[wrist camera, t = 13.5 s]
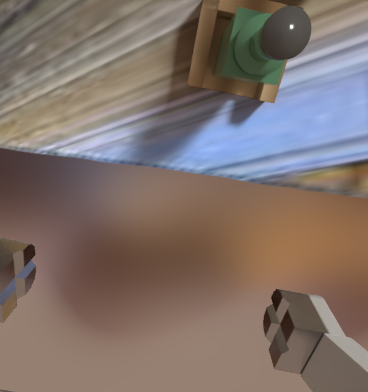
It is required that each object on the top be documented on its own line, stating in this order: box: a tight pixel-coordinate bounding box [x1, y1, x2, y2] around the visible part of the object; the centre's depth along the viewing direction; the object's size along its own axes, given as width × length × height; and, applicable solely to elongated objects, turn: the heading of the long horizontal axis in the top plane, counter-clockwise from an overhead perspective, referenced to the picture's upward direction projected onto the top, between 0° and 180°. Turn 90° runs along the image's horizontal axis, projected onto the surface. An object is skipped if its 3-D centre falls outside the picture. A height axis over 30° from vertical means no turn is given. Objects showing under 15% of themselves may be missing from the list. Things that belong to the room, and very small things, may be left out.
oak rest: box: [187, 0, 303, 103], centre depth 37 cm, size 12×11×5 cm
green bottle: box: [213, 6, 311, 85], centre depth 27 cm, size 5×5×24 cm
